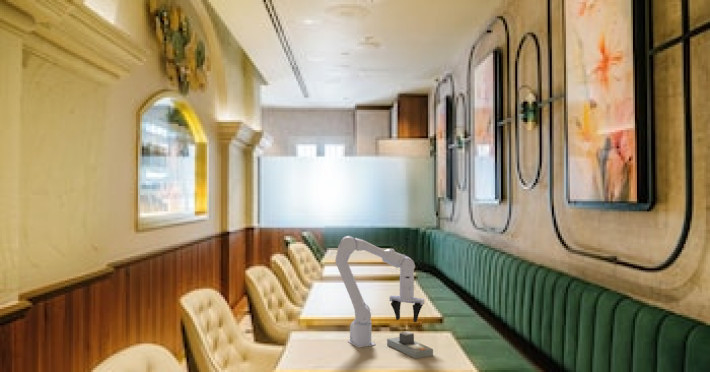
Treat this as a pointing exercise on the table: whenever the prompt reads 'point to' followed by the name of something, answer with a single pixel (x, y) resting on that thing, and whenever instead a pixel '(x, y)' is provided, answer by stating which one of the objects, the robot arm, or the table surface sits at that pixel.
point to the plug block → (406, 338)
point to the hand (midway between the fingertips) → (406, 320)
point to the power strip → (410, 348)
